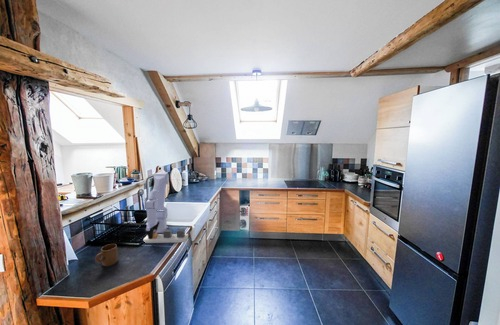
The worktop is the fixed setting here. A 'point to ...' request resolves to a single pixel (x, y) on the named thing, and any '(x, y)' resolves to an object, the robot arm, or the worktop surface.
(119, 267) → the worktop surface
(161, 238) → the pdu strip
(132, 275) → the worktop surface
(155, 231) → the plug
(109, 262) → the mug
